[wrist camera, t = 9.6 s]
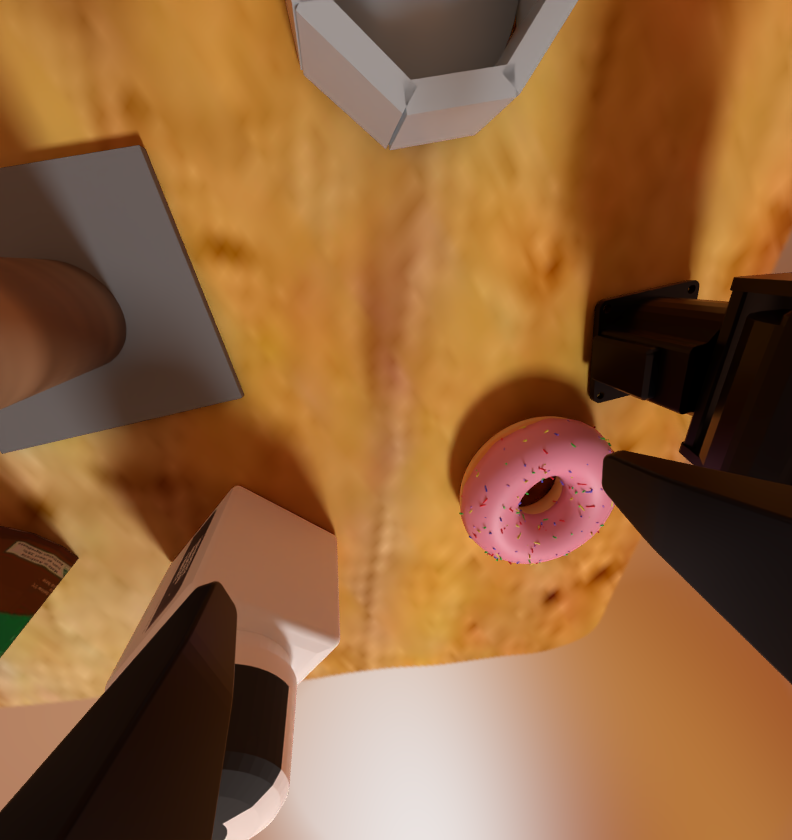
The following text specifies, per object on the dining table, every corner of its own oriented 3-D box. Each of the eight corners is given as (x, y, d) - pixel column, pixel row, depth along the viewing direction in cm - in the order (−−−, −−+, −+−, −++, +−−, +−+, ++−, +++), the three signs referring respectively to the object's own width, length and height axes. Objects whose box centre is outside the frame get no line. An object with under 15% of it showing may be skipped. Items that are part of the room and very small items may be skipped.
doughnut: (475, 396, 22) (506, 422, 18) (616, 416, 24) (669, 442, 20) (434, 533, 26) (452, 579, 22) (559, 537, 28) (595, 579, 24)
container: (169, 564, 22) (-9, 892, 10) (236, 480, 21) (116, 754, 9) (274, 605, 25) (226, 896, 13) (339, 534, 24) (349, 793, 12)
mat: (145, 149, 14) (139, 145, 14) (244, 394, 19) (241, 397, 18) (-180, 203, 13) (-198, 200, 13) (10, 449, 18) (2, 453, 17)
